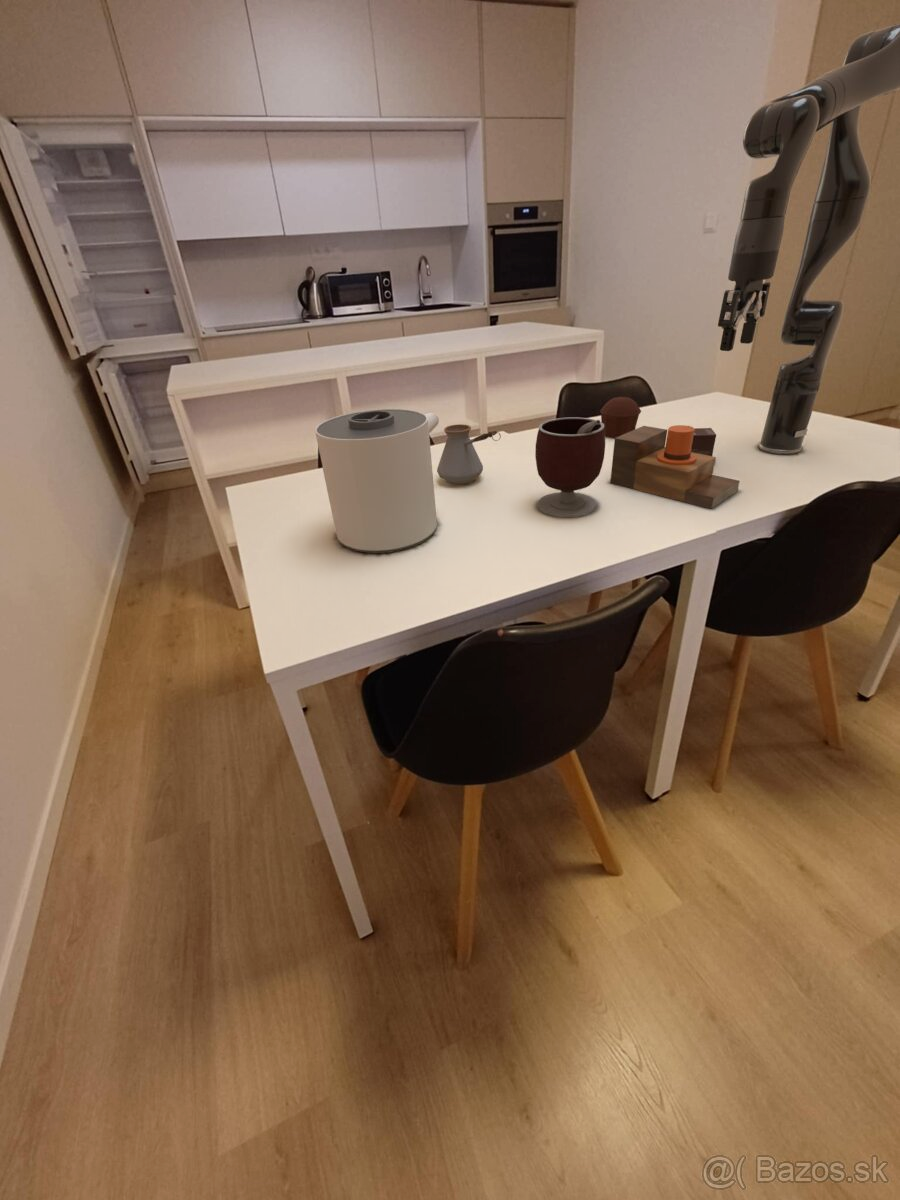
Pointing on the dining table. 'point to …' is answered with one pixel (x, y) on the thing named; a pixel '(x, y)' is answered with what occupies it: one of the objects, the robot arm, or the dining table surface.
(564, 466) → the mate gourd
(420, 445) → the humidifier
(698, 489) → the stand
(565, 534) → the dining table surface
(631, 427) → the muffin
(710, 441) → the box
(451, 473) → the coffee pot
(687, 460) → the hat
